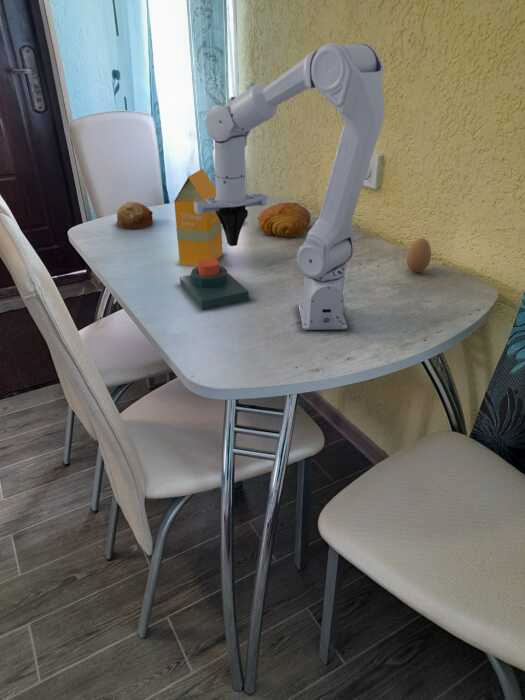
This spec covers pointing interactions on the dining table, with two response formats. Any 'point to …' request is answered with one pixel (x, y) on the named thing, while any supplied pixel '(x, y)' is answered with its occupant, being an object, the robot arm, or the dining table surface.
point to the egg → (418, 255)
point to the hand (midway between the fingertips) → (232, 244)
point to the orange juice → (197, 222)
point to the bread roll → (134, 215)
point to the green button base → (213, 289)
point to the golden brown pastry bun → (284, 219)
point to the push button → (208, 267)
